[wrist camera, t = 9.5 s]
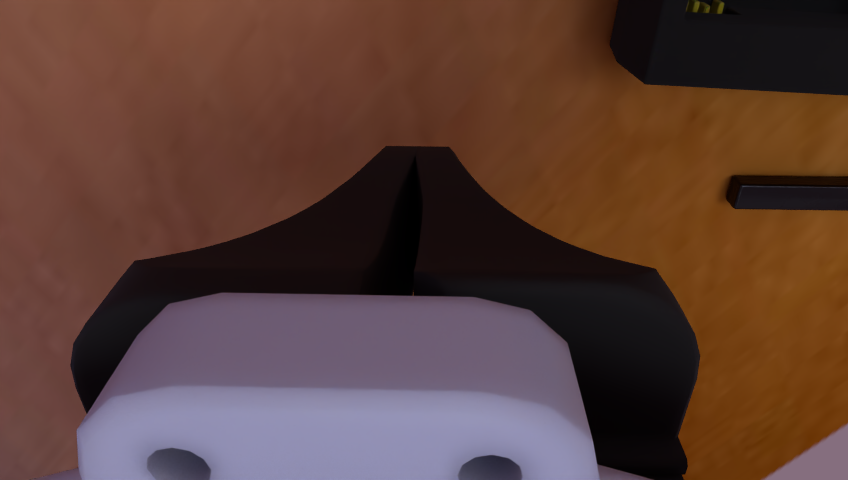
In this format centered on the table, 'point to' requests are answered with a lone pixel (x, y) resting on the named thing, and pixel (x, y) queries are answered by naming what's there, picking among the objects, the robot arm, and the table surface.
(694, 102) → the table surface
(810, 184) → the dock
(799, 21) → the battery charger
